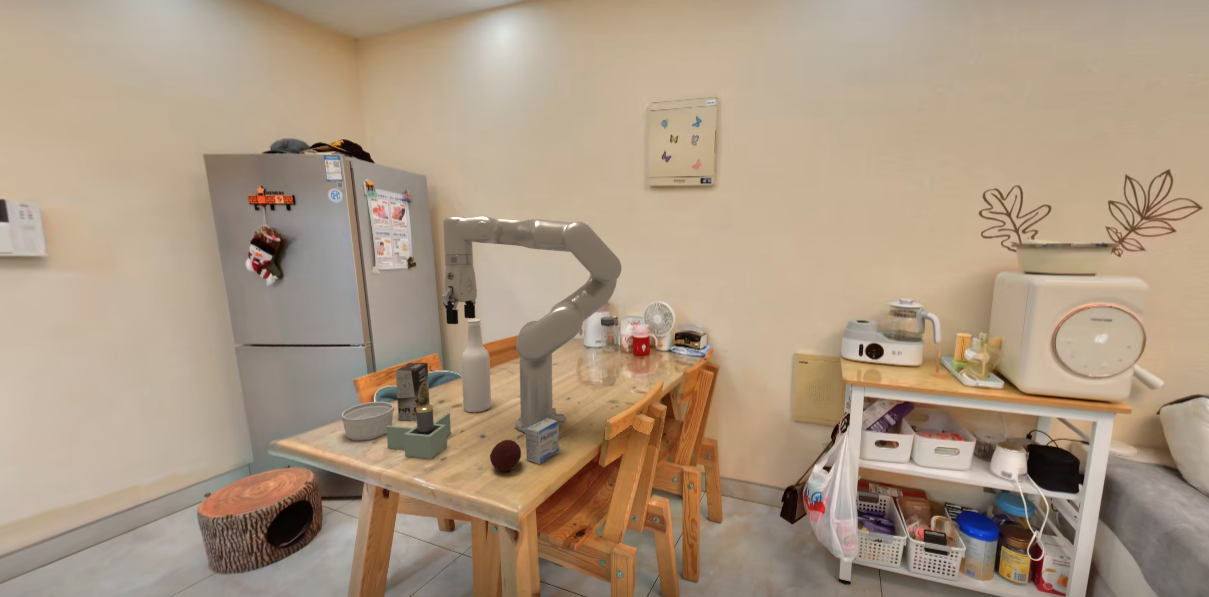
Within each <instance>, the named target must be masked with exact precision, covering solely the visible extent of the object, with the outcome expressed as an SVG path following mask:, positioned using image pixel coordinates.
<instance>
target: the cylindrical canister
mask: <svg viewBox="0 0 1209 597" xmlns="http://www.w3.org/2000/svg"><path fill="white" fill-rule="evenodd" d="M416 415H417V421H416V426H417V433H418V434H424V435H429V434H431V433H432V432H433V431H434V422H435V421H434V406H433V405H432V404H430V405H421V406H418V407H417V408H416Z"/></svg>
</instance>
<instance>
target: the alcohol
mask: <svg viewBox="0 0 1209 597" xmlns="http://www.w3.org/2000/svg"><path fill="white" fill-rule="evenodd" d="M481 321H482V320H481V319H480V318H468V320H467V322H468V323H467V326H468V327H467V328H468V329H467V346H466V348H465V350H464V351H463V353H462V354H461V374H462V375H461V377H462V382H461V383H462V398H463V400H462V402H463V403H462V404H463V409H464V410H465V412H467V413H470V412H473V414H477V413H476V412H479V413H483V412H485V410H486V411H488V410H489V409H490V407H491V406H492V393H491V388H492V387H491V365H490V364H491V363H490V362H491V361H490V353H489V351H488V350H487V349H486V348H485V347H484V344H483V338H482V335H483V334H482V330H481V329H482V328H481V324H482V323H481ZM487 409H488V410H487ZM482 411H483V412H482Z"/></svg>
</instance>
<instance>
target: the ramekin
mask: <svg viewBox="0 0 1209 597" xmlns="http://www.w3.org/2000/svg"><path fill="white" fill-rule="evenodd" d="M394 410H395V409H394V404H393V403H391V402H387V401H371V402H365V403H360V404H357V405H353V406H351V407H349V408H347V409H345V410H343V412H342V413H341V421H342V422H343V423H342V424H343V428H344V432H345V435H346V437H347V438H349V439H350V440H353V441H359V440H361V441H368V440H369V441H370V440H373V439H377V438H380V437H382V436H384V435H387V428H386V427H387V426H388V425H389V426H393V416H394Z"/></svg>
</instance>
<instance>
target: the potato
mask: <svg viewBox="0 0 1209 597" xmlns="http://www.w3.org/2000/svg"><path fill="white" fill-rule="evenodd" d="M521 457H522V449H521V447H520V445H519V444H518V443H517V442H516V441H514V440H512V439H504V440H501V441H500V442H498V443H496V445H495V446H494V447H493V448H492V449H491V452H490V455H489V460H490V463H491V465H492V466H493V468H495V469H496V470H497V471H498V472H501V473H506V472H509V471H511V470H513V469H514V468H515V467H516V466H517V465H518V464H519V461H520V460H521Z"/></svg>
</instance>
